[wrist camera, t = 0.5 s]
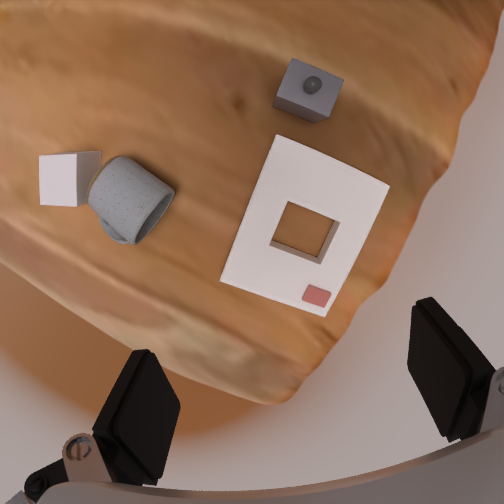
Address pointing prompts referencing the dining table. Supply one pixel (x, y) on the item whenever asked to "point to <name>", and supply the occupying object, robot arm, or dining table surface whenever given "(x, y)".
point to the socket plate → (318, 200)
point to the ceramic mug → (127, 199)
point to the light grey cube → (67, 177)
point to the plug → (307, 91)
